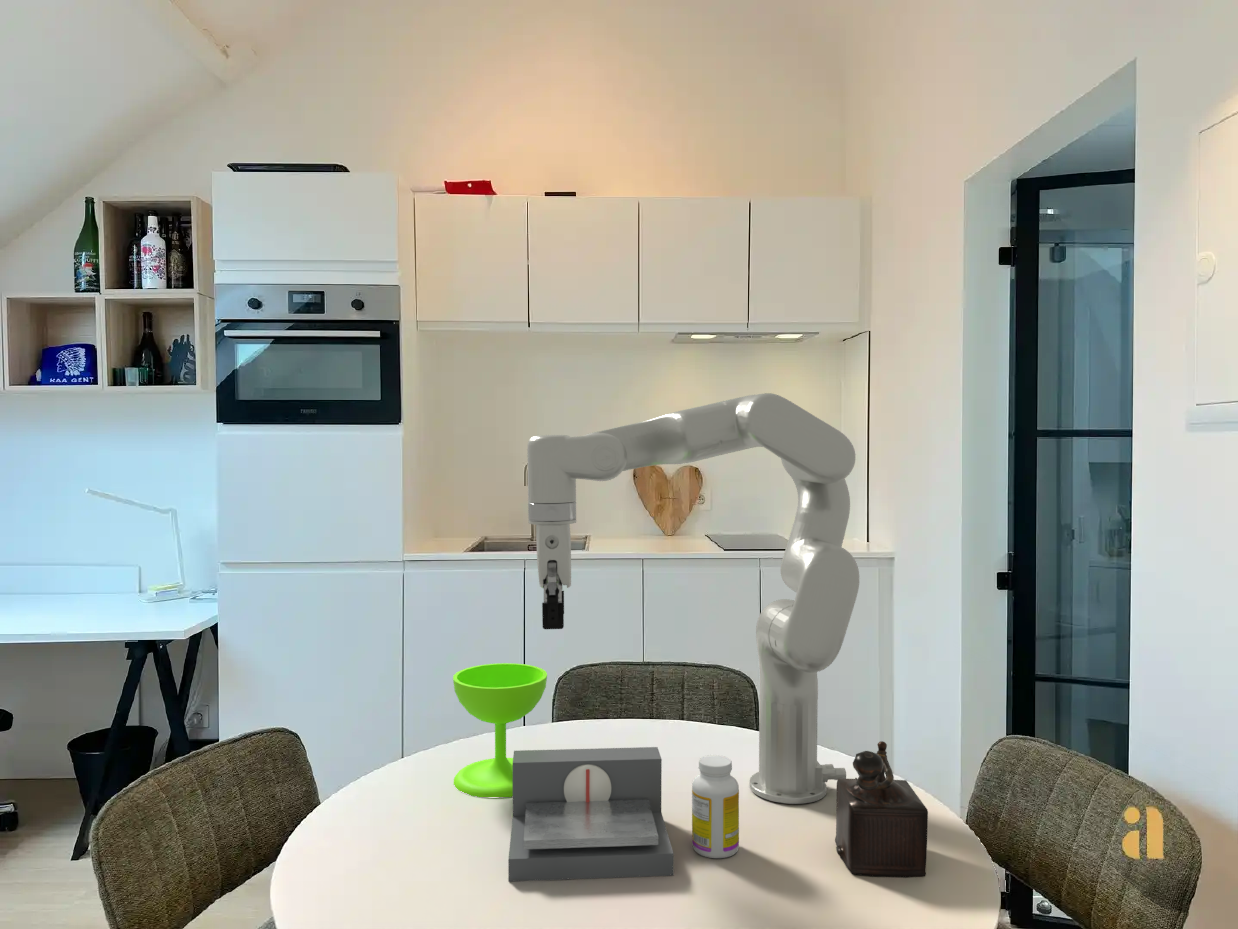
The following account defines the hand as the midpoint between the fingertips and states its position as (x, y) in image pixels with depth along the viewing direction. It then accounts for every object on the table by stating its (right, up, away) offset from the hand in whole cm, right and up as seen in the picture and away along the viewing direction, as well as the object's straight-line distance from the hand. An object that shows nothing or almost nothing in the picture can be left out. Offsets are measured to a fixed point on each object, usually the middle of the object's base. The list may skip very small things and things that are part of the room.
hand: (553, 621), depth 139 cm
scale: (+6, -30, -12) cm, 33 cm away
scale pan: (+6, -26, -15) cm, 31 cm away
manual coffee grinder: (+46, -31, -18) cm, 58 cm away
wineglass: (-10, -29, +12) cm, 34 cm away
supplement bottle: (+24, -30, -13) cm, 41 cm away
